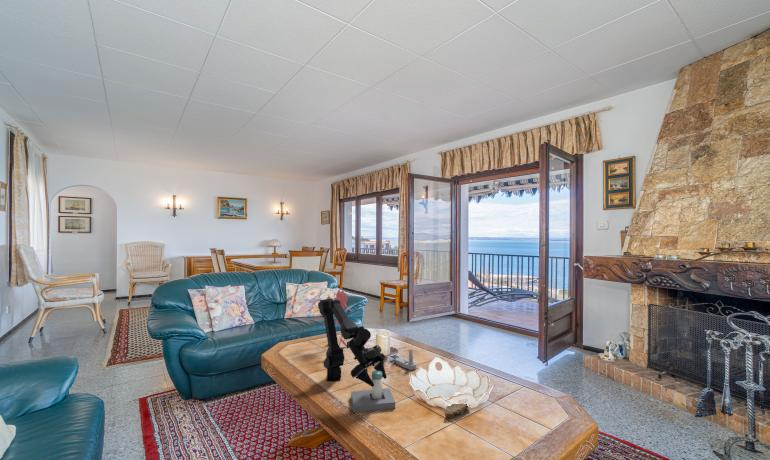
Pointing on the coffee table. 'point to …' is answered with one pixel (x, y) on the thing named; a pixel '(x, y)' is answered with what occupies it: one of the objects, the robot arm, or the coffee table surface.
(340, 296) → the figurine
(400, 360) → the electronic device
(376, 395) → the peg
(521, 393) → the coffee table surface
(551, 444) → the coffee table surface
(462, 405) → the stone
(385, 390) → the socket board
